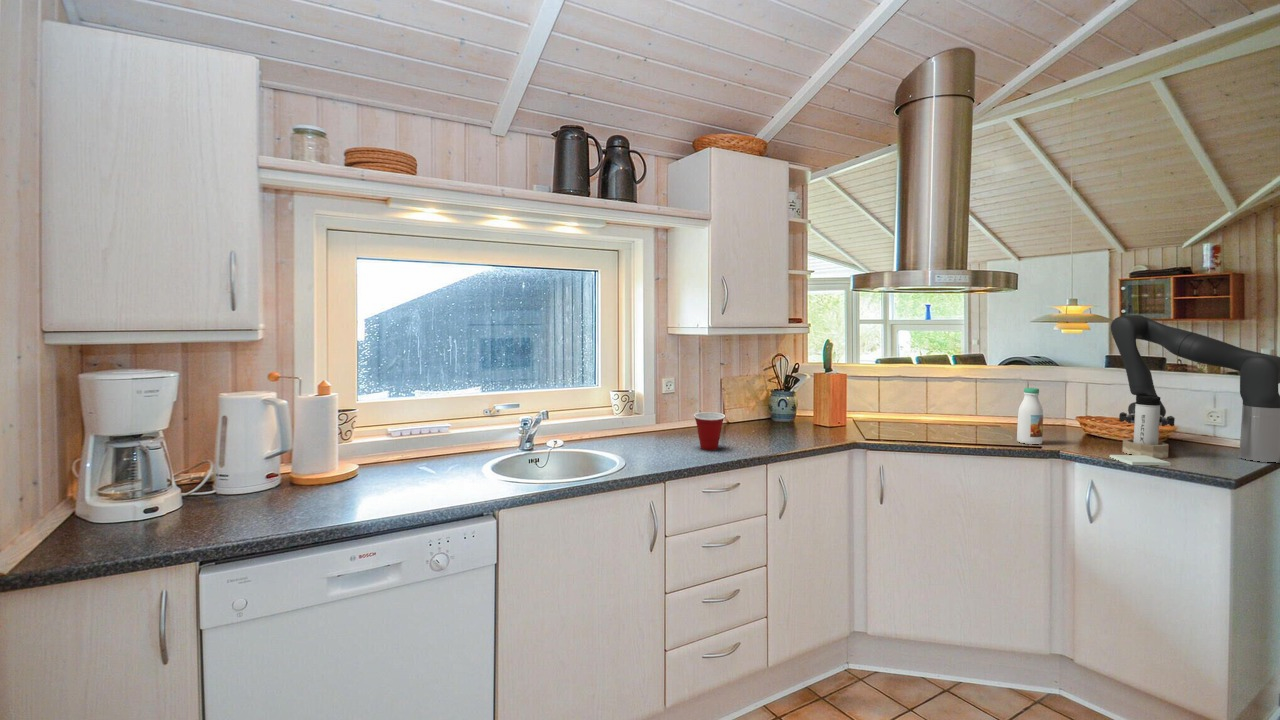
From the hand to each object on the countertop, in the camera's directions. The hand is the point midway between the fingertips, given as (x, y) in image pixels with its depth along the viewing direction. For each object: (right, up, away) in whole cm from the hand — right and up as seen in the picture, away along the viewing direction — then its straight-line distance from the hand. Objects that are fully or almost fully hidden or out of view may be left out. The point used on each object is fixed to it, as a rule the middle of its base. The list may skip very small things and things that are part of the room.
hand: (1146, 421), depth 198 cm
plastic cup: (-143, -11, +9) cm, 144 cm away
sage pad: (-10, -12, -10) cm, 18 cm away
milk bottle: (-26, -10, +20) cm, 34 cm away
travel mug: (+1, -11, +2) cm, 11 cm away
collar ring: (+1, -11, +2) cm, 11 cm away
